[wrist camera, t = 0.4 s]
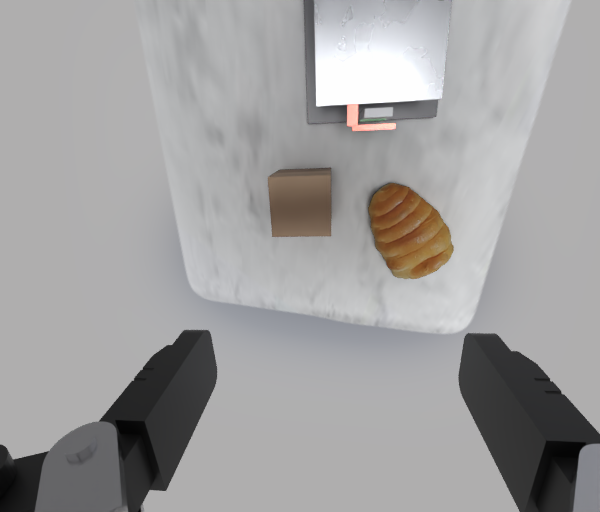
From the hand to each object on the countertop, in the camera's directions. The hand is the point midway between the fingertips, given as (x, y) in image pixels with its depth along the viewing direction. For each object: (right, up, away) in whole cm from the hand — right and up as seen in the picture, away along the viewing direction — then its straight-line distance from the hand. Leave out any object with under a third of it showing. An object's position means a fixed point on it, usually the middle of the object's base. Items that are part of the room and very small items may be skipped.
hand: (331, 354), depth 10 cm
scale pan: (+5, +18, +14) cm, 23 cm away
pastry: (+10, +6, +22) cm, 25 cm away
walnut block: (0, +9, +21) cm, 23 cm away
